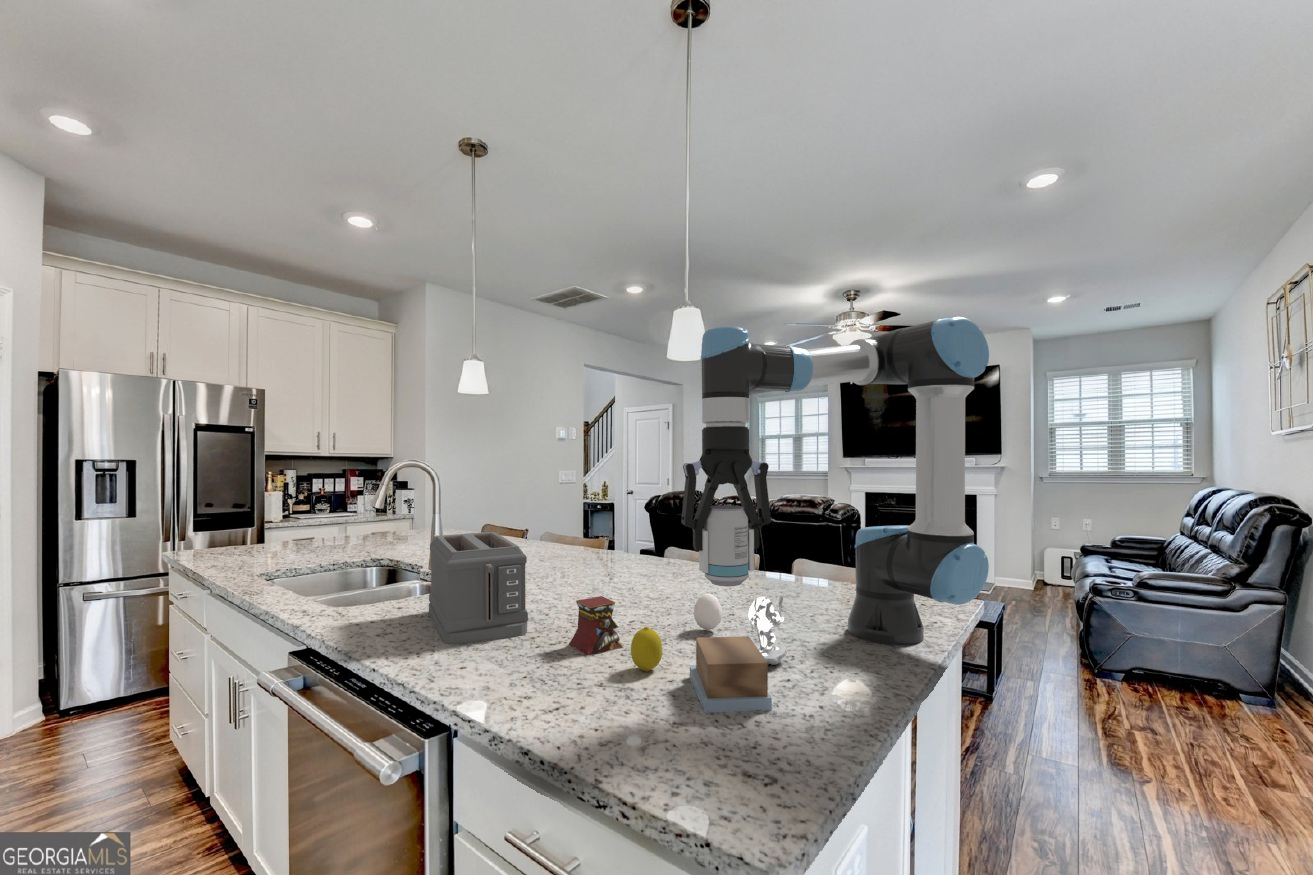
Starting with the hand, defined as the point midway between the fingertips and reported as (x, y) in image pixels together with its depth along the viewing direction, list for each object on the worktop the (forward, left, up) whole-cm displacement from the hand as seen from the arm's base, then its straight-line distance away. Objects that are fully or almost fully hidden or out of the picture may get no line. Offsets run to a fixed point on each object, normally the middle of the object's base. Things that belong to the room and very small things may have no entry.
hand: (726, 569), depth 93 cm
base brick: (0, 0, -21) cm, 21 cm away
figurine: (-11, -12, -20) cm, 26 cm away
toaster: (+44, -47, -20) cm, 67 cm away
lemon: (+11, -12, -20) cm, 26 cm away
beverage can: (0, 0, -2) cm, 2 cm away
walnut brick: (0, 0, -18) cm, 18 cm away
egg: (-6, -33, -20) cm, 39 cm away
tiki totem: (+19, -27, -20) cm, 39 cm away
